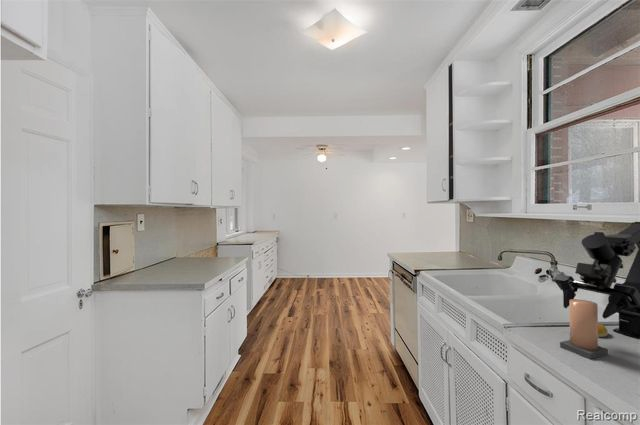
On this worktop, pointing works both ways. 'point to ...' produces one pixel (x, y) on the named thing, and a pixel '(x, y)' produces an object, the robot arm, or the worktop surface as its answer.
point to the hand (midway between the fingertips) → (583, 312)
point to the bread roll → (602, 331)
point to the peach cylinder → (583, 324)
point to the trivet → (585, 353)
